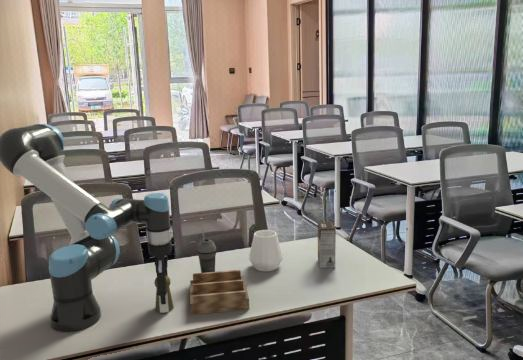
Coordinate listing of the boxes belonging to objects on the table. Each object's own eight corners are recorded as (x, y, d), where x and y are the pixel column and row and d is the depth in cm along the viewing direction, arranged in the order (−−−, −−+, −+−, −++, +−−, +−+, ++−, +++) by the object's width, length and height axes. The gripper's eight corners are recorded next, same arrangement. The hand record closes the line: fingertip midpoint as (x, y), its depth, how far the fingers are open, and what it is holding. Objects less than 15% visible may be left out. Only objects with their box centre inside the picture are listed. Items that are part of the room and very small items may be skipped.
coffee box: (317, 259, 199) (317, 221, 195) (333, 258, 199) (333, 221, 195) (319, 268, 190) (319, 229, 186) (336, 267, 190) (336, 228, 186)
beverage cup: (215, 283, 179) (212, 232, 175) (196, 282, 181) (192, 231, 176) (220, 275, 186) (217, 225, 182) (202, 274, 188) (199, 225, 183)
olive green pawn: (177, 306, 163) (175, 275, 160) (164, 314, 158) (162, 282, 156) (164, 301, 166) (161, 271, 164) (151, 309, 161) (148, 278, 159)
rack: (191, 314, 157) (189, 296, 156) (191, 290, 175) (189, 273, 173) (249, 308, 160) (248, 291, 158) (243, 285, 177) (243, 269, 176)
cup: (262, 257, 202) (261, 225, 199) (289, 264, 194) (288, 231, 191) (242, 268, 192) (240, 235, 188) (270, 276, 184) (269, 241, 181)
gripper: (170, 251, 148) (175, 320, 153) (172, 230, 166) (177, 293, 172) (145, 253, 147) (151, 322, 152) (150, 232, 165) (155, 295, 171)
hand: (164, 306), depth 162 cm, fingers closed on olive green pawn, 6 cm apart
